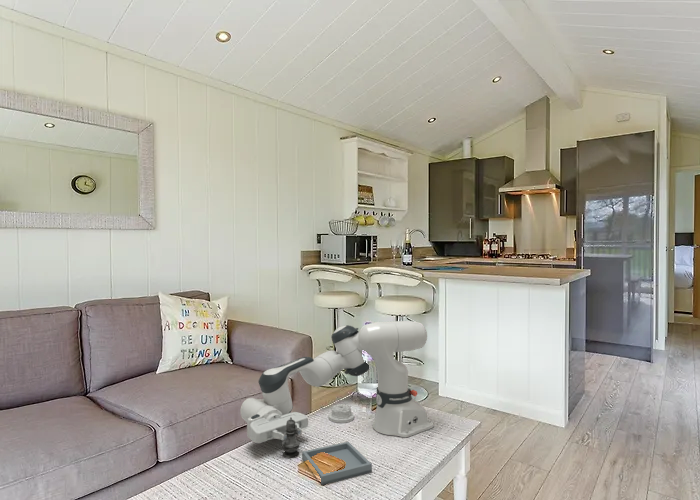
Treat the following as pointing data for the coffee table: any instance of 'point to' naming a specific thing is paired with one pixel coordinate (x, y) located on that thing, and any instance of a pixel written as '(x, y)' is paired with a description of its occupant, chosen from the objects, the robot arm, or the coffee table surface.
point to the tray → (346, 452)
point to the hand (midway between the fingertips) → (292, 434)
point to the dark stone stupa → (290, 440)
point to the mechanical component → (341, 414)
